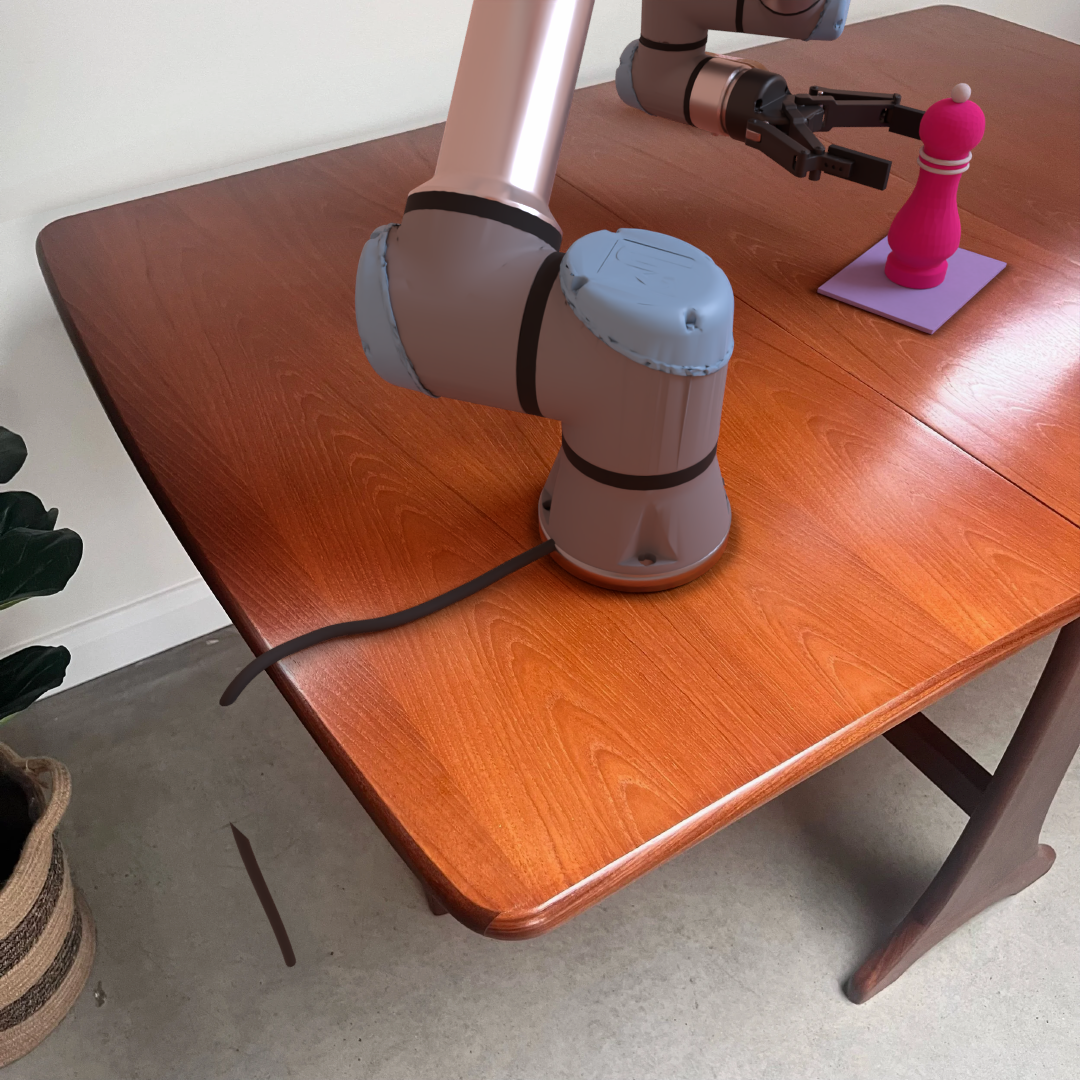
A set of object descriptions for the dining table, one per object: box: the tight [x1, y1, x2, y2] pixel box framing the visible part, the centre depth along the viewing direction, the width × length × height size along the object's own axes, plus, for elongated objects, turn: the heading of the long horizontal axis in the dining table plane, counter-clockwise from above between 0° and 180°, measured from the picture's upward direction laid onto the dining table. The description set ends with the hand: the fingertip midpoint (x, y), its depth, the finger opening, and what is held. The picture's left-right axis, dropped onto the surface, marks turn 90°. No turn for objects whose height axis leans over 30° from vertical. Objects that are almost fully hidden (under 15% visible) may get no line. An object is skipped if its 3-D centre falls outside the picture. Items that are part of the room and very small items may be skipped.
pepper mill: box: [884, 82, 986, 289], centre depth 105 cm, size 7×7×20 cm
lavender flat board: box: [816, 234, 1008, 335], centre depth 112 cm, size 18×13×1 cm
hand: (920, 154), depth 104 cm, fingers open, 13 cm apart
